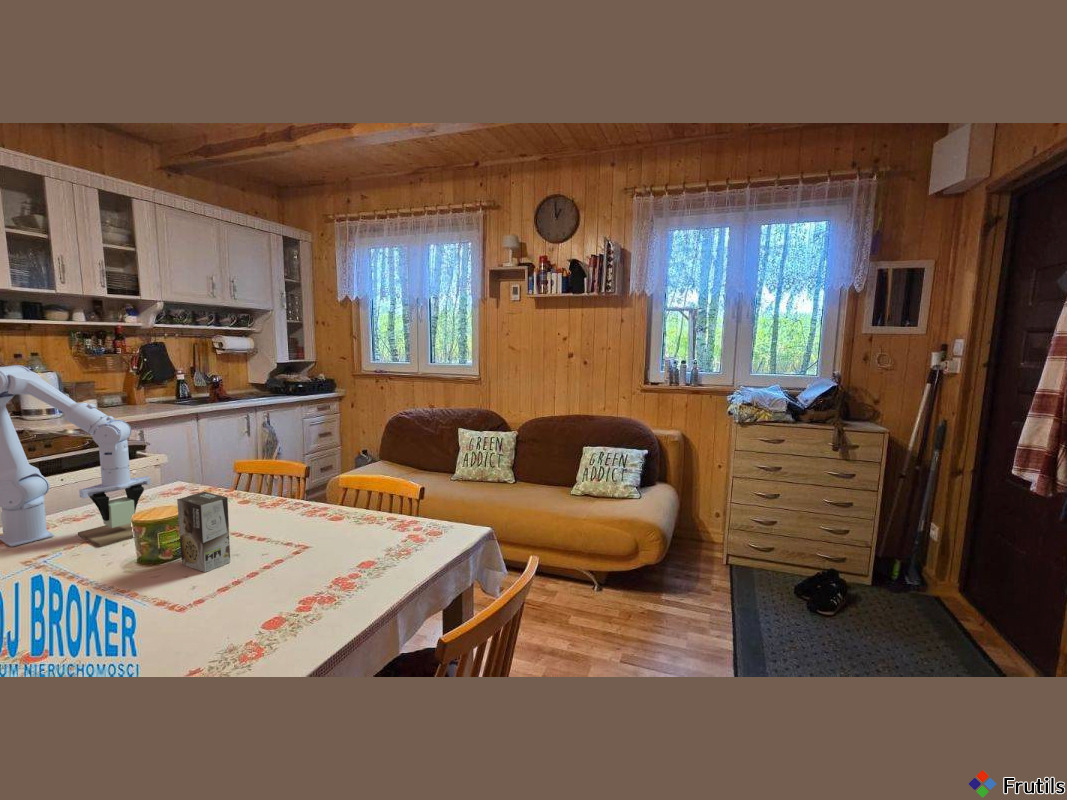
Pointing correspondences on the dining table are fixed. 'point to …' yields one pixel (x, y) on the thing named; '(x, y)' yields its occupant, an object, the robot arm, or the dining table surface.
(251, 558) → the dining table surface
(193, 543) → the coffee box
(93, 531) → the walnut base board
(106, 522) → the sage block
